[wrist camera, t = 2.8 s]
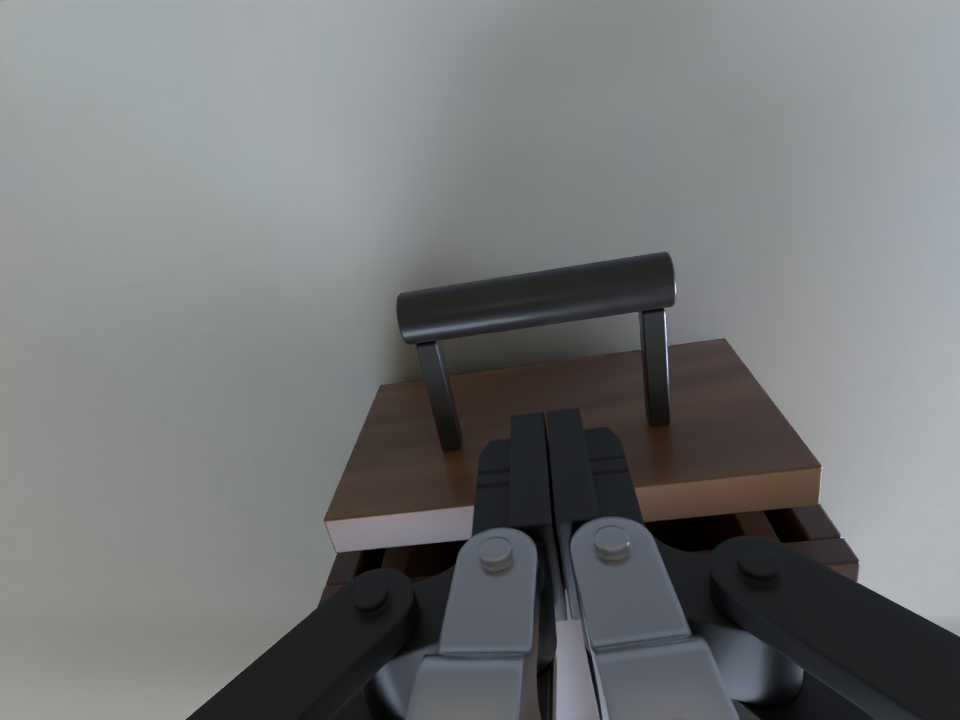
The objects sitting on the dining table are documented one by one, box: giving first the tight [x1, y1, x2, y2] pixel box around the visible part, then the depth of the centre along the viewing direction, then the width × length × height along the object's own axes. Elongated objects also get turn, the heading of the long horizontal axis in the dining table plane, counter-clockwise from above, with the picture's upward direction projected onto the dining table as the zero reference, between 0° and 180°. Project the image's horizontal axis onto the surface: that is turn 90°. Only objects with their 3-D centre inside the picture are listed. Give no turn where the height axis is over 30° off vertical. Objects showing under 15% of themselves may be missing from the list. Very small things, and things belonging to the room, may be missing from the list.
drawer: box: [324, 252, 822, 578], centre depth 20 cm, size 20×12×7 cm, turn 10°
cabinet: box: [317, 504, 860, 720], centre depth 22 cm, size 16×14×9 cm
